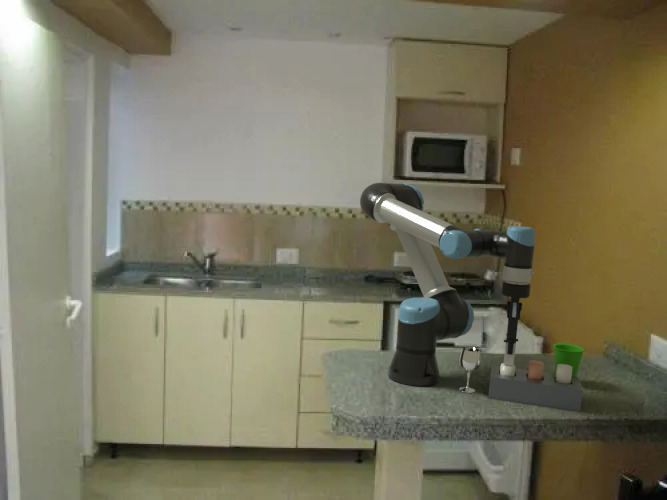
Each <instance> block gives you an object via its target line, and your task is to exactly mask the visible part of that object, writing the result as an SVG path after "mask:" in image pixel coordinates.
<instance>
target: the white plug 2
mask: <svg viewBox="0 0 667 500" xmlns="http://www.w3.org/2000/svg"><path fill="white" fill-rule="evenodd" d="M555 374H556V380H555V382H558V383H565V384H571V376H572V366H570V365H566V364H557V371H556V372H555Z"/></svg>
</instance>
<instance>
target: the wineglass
mask: <svg viewBox="0 0 667 500" xmlns="http://www.w3.org/2000/svg"><path fill="white" fill-rule="evenodd" d="M459 366H460V367H461V369H463V370H464V371H466V378H467V379H466V385H465V386H462V387H459V391H460V392H464V393H467V394H468V393H469V394H473V393H475V392H476V390H475V389H474V388H472V387H470V385H469V384H470V378H471V372H475V371H477V370H478V369H479V368H480V366H481V352H480V349H479V348H476V347H472V346H465V347H462V349H461V352H460V356H459Z"/></svg>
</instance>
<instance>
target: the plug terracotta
mask: <svg viewBox="0 0 667 500" xmlns="http://www.w3.org/2000/svg"><path fill="white" fill-rule="evenodd" d="M544 366H545V363H544V361H541V360H537V359H536V360H535V359H533V360H531V359H530V360H529V361H528V367H527V368H528V369H527V370H528V376H527V378H530V379H537V380H542V377H543V372H544V368H545V367H544Z"/></svg>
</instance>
